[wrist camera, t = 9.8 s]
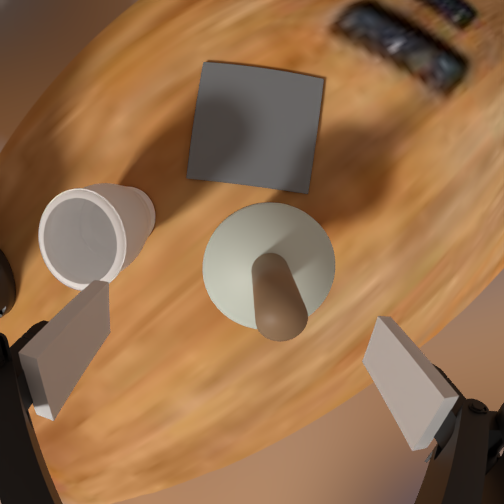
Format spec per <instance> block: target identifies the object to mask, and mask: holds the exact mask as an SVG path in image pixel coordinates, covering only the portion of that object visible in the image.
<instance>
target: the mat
mask: <svg viewBox="0 0 504 504" xmlns="http://www.w3.org/2000/svg"><path fill="white" fill-rule="evenodd" d="M323 82H324V79H321V78H316V77H312V76H307V75H301V74H296V73H291V72H285V71H279V70H272V69H266V68H258V67H251V66H242V65H233V64H223V63H211V62H203V67H202V73H201V79H200V85H199V91H198V97H197V103H196V110H195V116H194V123H193V130H192V138H191V145H190V153H189V161H188V169H187V178H189V179H198V180H207V181H216V182H225V183H233V184H241V185H249V186H256V187H264V188H271V189H278V190H285V191H291V192H298V193H304V194H308V191H309V185H310V178H311V172H312V165H313V158H314V151H315V144H316V137H317V129H318V122H319V114H320V106H321V98H322V90H323Z"/></svg>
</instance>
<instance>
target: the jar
mask: <svg viewBox="0 0 504 504" xmlns="http://www.w3.org/2000/svg"><path fill="white" fill-rule="evenodd" d="M154 224H155V209H154V206H153V203H152V201H151V200H150V198H149V197H148V196H147V195H146V194H145V193H144V192H143V191H141V190H139V189H137V188H134V187H128V186H126V187H125V186H121V185H117V184H110V183H100V184H94V185H90V186H87V187H84V188H76V189H71V190H67V191H64V192H62V193H60V194H59V195H57V196H56V197H55V198H54V199H52V200H51V202H50V203H49V204H48V205H47V207H46V208H45V210H44V212H43V214H42V217H41V220H40V224H39V233H38V238H39V247H40V251H41V254H42V257H43V260H44V262H45V264H46V266H47V267H48V269H49V270H50V272H51V273H52V274H53V275H54V276H55V277H56V278H57V279H58V280H59V281H60V282H61V283H63V284H64V285H66V286H68V287H70V288H72V289H75V290H79V291H82V290H83V289H85V288H86V287H87V286H88V285H89V284H90V283H91V282H92V281H93V280H94V279H95V280H100V281H106V282H109V283H110V282H112V281H113V280H114V279H115V278H116V277H117V275H118V274H119V273H120V271H122V270H123V269H125V268H126V267H127V266H129V265H130V264H131V263H132V262H133V261H134V260H135V258H136V257H137V256H138V254H139V253H140V251H141V250H142V248H143V246H144V244H145V242H146V240H147V238H148V236H149V235H150V234H151V232H152V230H153V227H154Z"/></svg>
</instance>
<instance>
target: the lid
mask: <svg viewBox="0 0 504 504" xmlns="http://www.w3.org/2000/svg"><path fill="white" fill-rule="evenodd" d="M334 274H335V256H334V251H333V247H332V244H331V242H330V239H329V237H328V236H327V234H326V232H325V231H324V229H323V228H322V227H321V226H320V224H319V223H317V222H316V221H315V220H314V219H313V218H312V217H311V216H309V215H308V214H307V213H305V212H304V211H302V210H300V209H298V208H296V207H293V206H290V205H287V204H282V203H274V202H265V203H257V204H252V205H249V206H246V207H244V208H242V209H240V210H238V211H236V212H234V213H233V214H231V215H230V216H228V217H227V218H226V219H225V220H224V221H223V222H222V223H221V224H220V225H219V226H218V227H217V228H216V230H215V231H214V233H213V234H212V236H211V238H210V240H209V242H208V245H207V247H206V250H205V254H204V259H203V278H204V283H205V287H206V289H207V292H208V294H209V296H210V298H211V300H212V301H213V303H214V304H215V305H216V307H217V308H218V309H219V310H220V311H221V312H222V313H223V314H224V315H226V316H227V317H228V318H230V319H231V320H233V321H235V322H236V323H239V324H241V325H243V326H246V327H250V328H254V329H258V331H259V332H260V333H261V334H262V335H263V336H264V337H266V338H267V339H270V340H273V341H287V340H290V339H293V338H295V337H296V336H298V335H299V334H300V333H301V332H302V331H303V330H304V328H305V326H306V324H307V321H308V316H310V315H311V314H312V313H313V312H314V311H315V310H316V309H317V308H318V307H319V306H320V305H321V304H322V302H323V301H324V300H325V298H326V296H327V295H328V293H329V291H330V288H331V286H332V283H333V279H334Z"/></svg>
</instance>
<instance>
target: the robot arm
mask: <svg viewBox="0 0 504 504" xmlns="http://www.w3.org/2000/svg"><path fill="white" fill-rule="evenodd" d="M14 301H15V282H14V277H13V273H12V270H11V268H10V265H9V263H8V261H7V259H6V257H5V256H4V254H3V253H2V251H1V250H0V318H1V317H3V316H4V315H5V314H7V313H8V312H9V311H10V310H11V309H12V307H13V304H14ZM109 334H110V315H109V282H106V281H100V280H95V279H94V280H93V281H92V282H91V283H90V284H89V285H88V286H87V287H86V288H85V289H83V290H82V291H81V292H80V293H79V294H78V295H77V296H76V297H75V298H74V299H73V300H71V301H70V302H69V303H68V304H67V305H66V306H65V307H64V308H63V309H62V310H61V311H60V312H59V313H58V314H57V315H56V316H55V317H54V318H52V319H51V320H50V321H49V322H48V321H44V320H43V321H41V322H39V323H37V324H35V325H33V326H32V327H31V328H30V329H29V330H28V331H27V333H25V334H24V335H22V338H19V339H18V340H17V341H16V342H15V343H14V344H13V345H12V346H11V347H10V348H9V344H8V340H7V338H6V336H5V335H4V334H2V333H0V500H1V503H2V504H63V503H62V501H61V499H60V497H59V495H58V493H57V490H56V488H55V486H54V483H53V481H52V478H51V476H50V473H49V471H48V468H47V466H46V463H45V460H44V458H43V455H42V452H41V449H40V446H39V443H38V440H37V437H36V434H35V431H34V428H33V424H32V421H31V417H30V414H29V411H28V409H29V407H30V406H31V404H32V403H33V405H34V408H35V411H36V414H37V415H40V416H42V417H45V418H48V419H50V420H53V421H54V420H55V418H56V416H57V415H58V413H59V411H60V410H61V408H62V406H63V405H64V403H65V401H66V400H67V398H68V397H69V395H70V393H71V392H72V390H73V389H74V387H75V385H76V384H77V382H78V381H79V379H80V377H81V376H82V374H83V373H84V371H85V370H86V368H87V367H88V365H89V364H90V362H91V360H92V359H93V357H94V356H95V354H96V353H97V351H98V350H99V348H100V347H101V345H102V344H103V342H104V341H105V339H106V338H107V336H108V335H109ZM362 362H363V364H364V365H365V367H366V369H367V370H368V372H369V374H370V376H371V377H372V379H373V381H374V383H375V384H376V386H377V388H378V390H379V391H380V393H381V395H382V397H383V399H384V400H385V402H386V403H387V406H388V407H389V409H390V411H391V413H392V415H393V416H394V418H395V420H396V422H397V424H398V426H399V427H400V429H401V431H402V433H403V435H404V437H405V438H406V440H407V442H408V444H409V446H410V448H411V450H412V451H413V450H419V449H424V448H427V447H428V446H429V444H430V443H431V441H432V440H433V438H435V439H436V441H437V445H436V446H435V448H434V449H433V451H432V452H431V453H430V455H429V456H428V457H427V459H426V460H425V462H428V460H429V459H430V462H429V465H428V468H427V471H426V475H425V477H424V480H423V483H422V485H421V488H420V491H419V493H418V496H417V498H416V501H415V503H414V504H504V451H503V454H502V456H501V457H500V453H499V452H500V451H501V449H502V448H503V447H504V403H503V404H502V406H501V407H500V409H499V411H498V412H497V411H489V409H488V408H487V406H486V405H485V404H483V403H482V402H480V401H478V400H475V399H466V398H465V397H464V396H463V395H462V393H461V392H460V391H459V390H458V389H457V388H456V386H455V385H454V384H453V383H452V381H451V380H450V379H449V378H447V376H446V374H445V373H444V372H443V371H442V370H441V369H440V368H438V367H437V366H435V365H434V364H432V363H431V362H430V361H429V360H428V359H427V357H426V356H425V355H424V354H423V353H422V352H421V350H420V349H419V348H418V347H417V346H416V345H415V344H414V342H413V341H412V340H411V339H410V338H409V337H408V336H407V335H406V333H405V332H404V331H403V330H402V329H401V328H400V327H399V326H398V324H397V323H396V322H395V321H394V320H393V319H392V318H391V317H385V316H378V318H377V321H376V324H375V327H374V330H373V333H372V336H371V339H370V341H369V344H368V347H367V350H366V353H365V355H364V358H363V361H362Z"/></svg>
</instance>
